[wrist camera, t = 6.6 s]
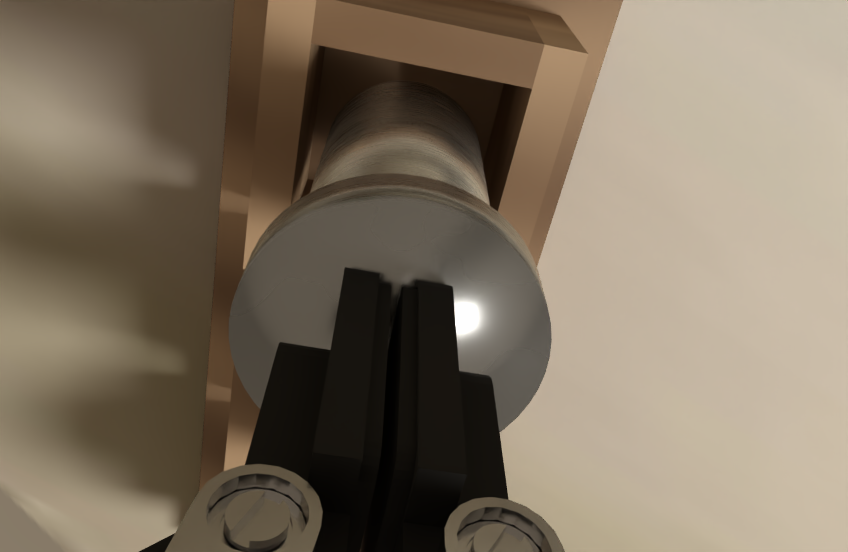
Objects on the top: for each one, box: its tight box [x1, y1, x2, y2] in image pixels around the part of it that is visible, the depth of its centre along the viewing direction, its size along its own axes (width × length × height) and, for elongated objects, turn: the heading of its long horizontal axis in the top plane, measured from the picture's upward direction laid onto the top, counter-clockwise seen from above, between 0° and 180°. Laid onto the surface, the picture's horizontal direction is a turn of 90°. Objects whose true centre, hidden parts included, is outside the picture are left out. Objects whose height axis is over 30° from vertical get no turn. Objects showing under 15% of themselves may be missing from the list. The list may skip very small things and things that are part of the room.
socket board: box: [199, 0, 623, 491], centre depth 24 cm, size 25×10×5 cm, turn 168°
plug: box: [229, 81, 551, 432], centre depth 15 cm, size 5×5×8 cm
